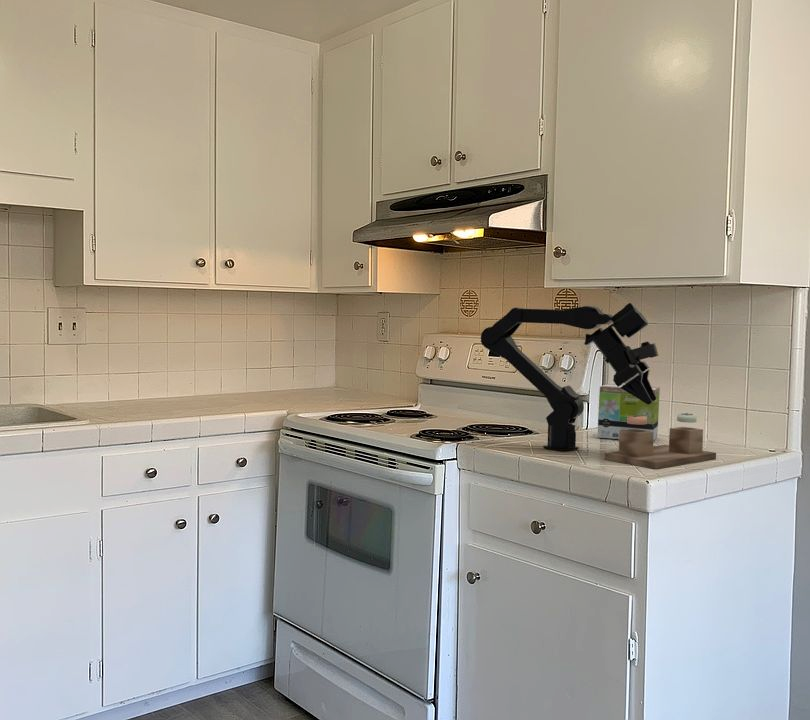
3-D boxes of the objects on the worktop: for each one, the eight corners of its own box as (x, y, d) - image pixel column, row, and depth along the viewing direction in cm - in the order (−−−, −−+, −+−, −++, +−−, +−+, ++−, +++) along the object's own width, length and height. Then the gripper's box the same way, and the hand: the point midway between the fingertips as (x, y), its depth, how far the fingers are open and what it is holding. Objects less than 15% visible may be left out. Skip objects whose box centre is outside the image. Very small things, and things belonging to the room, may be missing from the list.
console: (604, 459, 187) (605, 429, 186) (664, 450, 201) (665, 423, 201) (655, 469, 176) (657, 437, 175) (715, 458, 190) (717, 429, 190)
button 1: (623, 422, 186) (623, 415, 186) (634, 421, 188) (634, 414, 188) (638, 425, 182) (639, 417, 182) (650, 423, 185) (650, 416, 185)
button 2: (673, 420, 191) (673, 413, 191) (683, 419, 194) (684, 412, 194) (689, 423, 188) (689, 415, 188) (700, 421, 190) (700, 414, 190)
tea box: (596, 438, 220) (598, 385, 219) (603, 434, 229) (605, 383, 228) (653, 443, 213) (655, 388, 213) (658, 438, 222) (660, 385, 222)
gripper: (635, 330, 183) (677, 385, 180) (646, 329, 200) (684, 380, 197) (596, 358, 187) (636, 413, 184) (609, 355, 204) (646, 405, 201)
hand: (652, 401), depth 191 cm, fingers open, 9 cm apart
